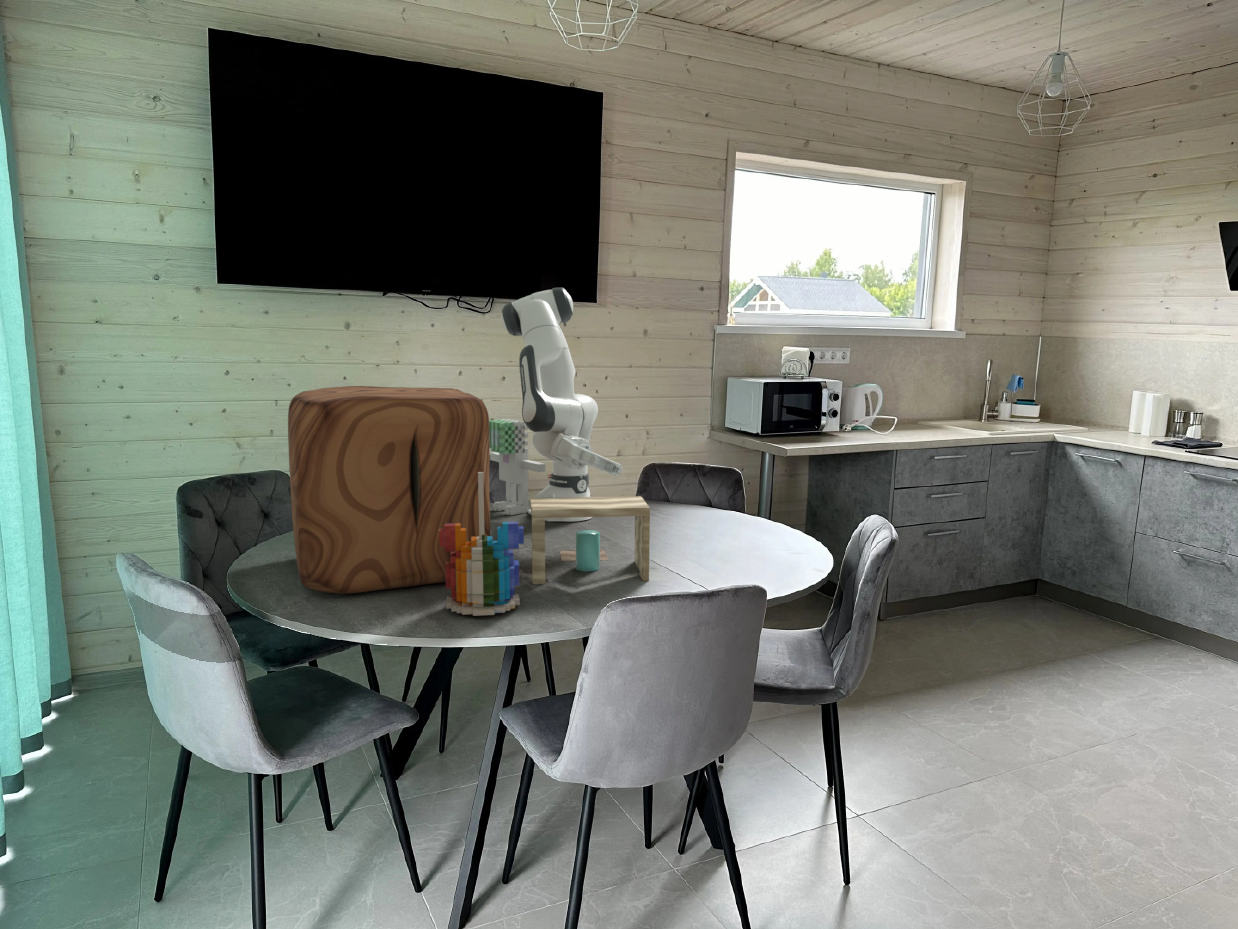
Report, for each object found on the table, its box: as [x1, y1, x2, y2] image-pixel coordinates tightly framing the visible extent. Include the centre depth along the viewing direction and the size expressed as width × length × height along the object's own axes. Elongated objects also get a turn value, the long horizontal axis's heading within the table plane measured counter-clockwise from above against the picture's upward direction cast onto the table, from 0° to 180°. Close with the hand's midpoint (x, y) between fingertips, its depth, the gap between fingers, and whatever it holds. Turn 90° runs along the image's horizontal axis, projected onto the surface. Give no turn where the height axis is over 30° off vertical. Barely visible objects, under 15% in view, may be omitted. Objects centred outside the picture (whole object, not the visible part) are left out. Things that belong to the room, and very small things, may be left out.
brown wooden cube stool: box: [287, 385, 491, 595], centre depth 216 cm, size 45×45×45 cm
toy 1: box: [439, 472, 525, 617], centre depth 188 cm, size 18×16×30 cm
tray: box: [559, 549, 609, 562], centre depth 231 cm, size 10×12×1 cm
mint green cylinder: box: [575, 529, 601, 572], centre depth 218 cm, size 6×6×10 cm
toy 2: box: [489, 418, 546, 516], centre depth 285 cm, size 30×10×30 cm, turn 39°
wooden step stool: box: [529, 495, 651, 585], centre depth 215 cm, size 14×28×18 cm, turn 97°
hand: (608, 466), depth 232 cm, fingers open, 8 cm apart
